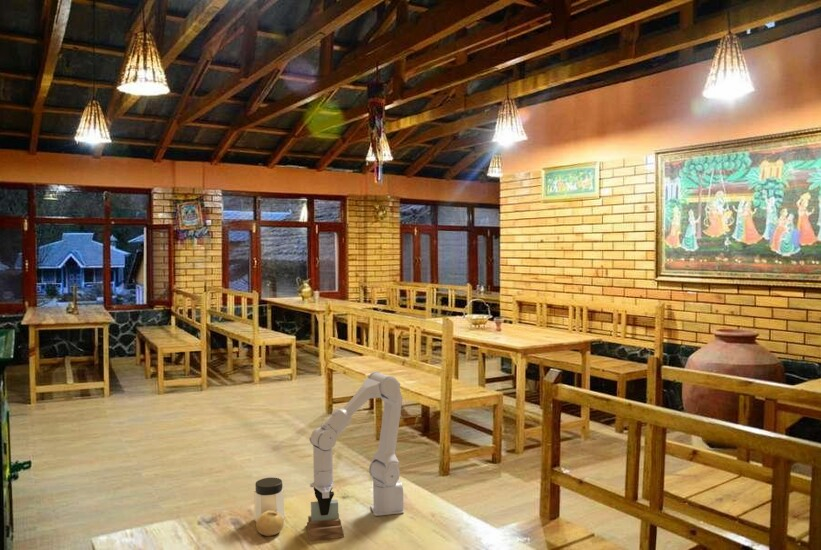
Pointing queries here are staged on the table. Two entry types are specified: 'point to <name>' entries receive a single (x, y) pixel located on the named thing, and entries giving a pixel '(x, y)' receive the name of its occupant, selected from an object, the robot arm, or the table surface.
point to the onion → (269, 523)
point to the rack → (324, 529)
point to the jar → (269, 496)
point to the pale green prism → (318, 517)
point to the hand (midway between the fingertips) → (324, 512)
